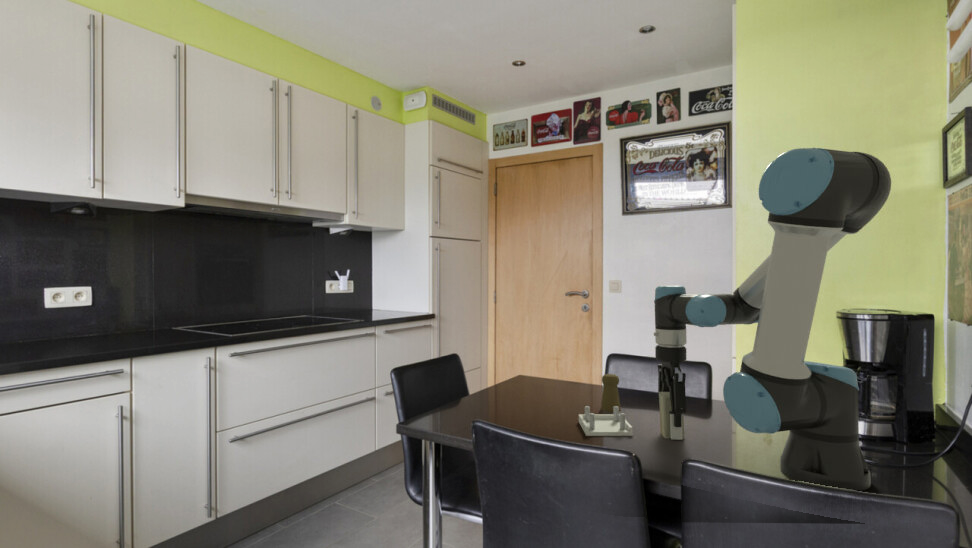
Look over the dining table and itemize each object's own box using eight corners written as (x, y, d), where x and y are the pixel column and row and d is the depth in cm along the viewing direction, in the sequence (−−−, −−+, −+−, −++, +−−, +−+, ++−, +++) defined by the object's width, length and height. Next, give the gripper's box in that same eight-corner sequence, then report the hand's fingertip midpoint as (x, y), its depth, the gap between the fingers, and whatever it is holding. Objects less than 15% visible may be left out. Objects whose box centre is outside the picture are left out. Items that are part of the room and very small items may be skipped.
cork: (600, 411, 147) (599, 375, 147) (601, 406, 153) (601, 372, 153) (620, 413, 145) (620, 376, 146) (621, 408, 151) (620, 373, 151)
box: (679, 433, 126) (679, 391, 126) (684, 439, 122) (684, 395, 122) (659, 433, 126) (658, 391, 126) (663, 438, 122) (662, 395, 122)
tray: (632, 435, 124) (632, 416, 124) (586, 435, 125) (586, 416, 125) (621, 422, 136) (620, 404, 136) (578, 422, 137) (578, 404, 137)
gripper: (645, 340, 134) (646, 423, 134) (668, 350, 115) (670, 447, 115) (672, 340, 134) (673, 423, 133) (700, 350, 115) (701, 447, 114)
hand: (671, 434), depth 124 cm, fingers open, 6 cm apart
